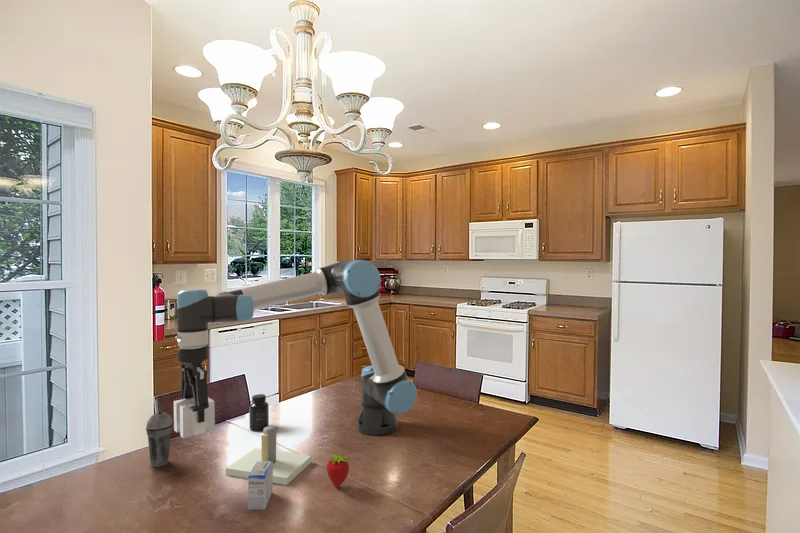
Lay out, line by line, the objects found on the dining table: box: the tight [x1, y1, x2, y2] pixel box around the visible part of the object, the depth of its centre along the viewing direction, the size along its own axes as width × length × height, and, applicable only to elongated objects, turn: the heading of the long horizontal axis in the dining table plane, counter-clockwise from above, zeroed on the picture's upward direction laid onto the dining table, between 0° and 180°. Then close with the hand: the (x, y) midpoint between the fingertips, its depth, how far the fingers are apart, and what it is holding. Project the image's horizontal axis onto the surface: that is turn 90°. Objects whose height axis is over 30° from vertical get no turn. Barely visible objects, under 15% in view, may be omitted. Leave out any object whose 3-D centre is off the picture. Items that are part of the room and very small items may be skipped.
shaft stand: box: [225, 425, 312, 486], centre depth 126 cm, size 20×14×12 cm
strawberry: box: [326, 450, 350, 489], centre depth 115 cm, size 6×8×10 cm
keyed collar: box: [173, 396, 216, 440], centre depth 115 cm, size 8×8×8 cm
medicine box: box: [247, 461, 274, 511], centre depth 108 cm, size 8×4×9 cm, turn 5°
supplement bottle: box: [248, 393, 270, 432], centre depth 157 cm, size 7×7×12 cm
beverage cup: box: [145, 398, 174, 468], centre depth 129 cm, size 7×7×20 cm
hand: (194, 429), depth 115 cm, fingers closed on keyed collar, 8 cm apart
